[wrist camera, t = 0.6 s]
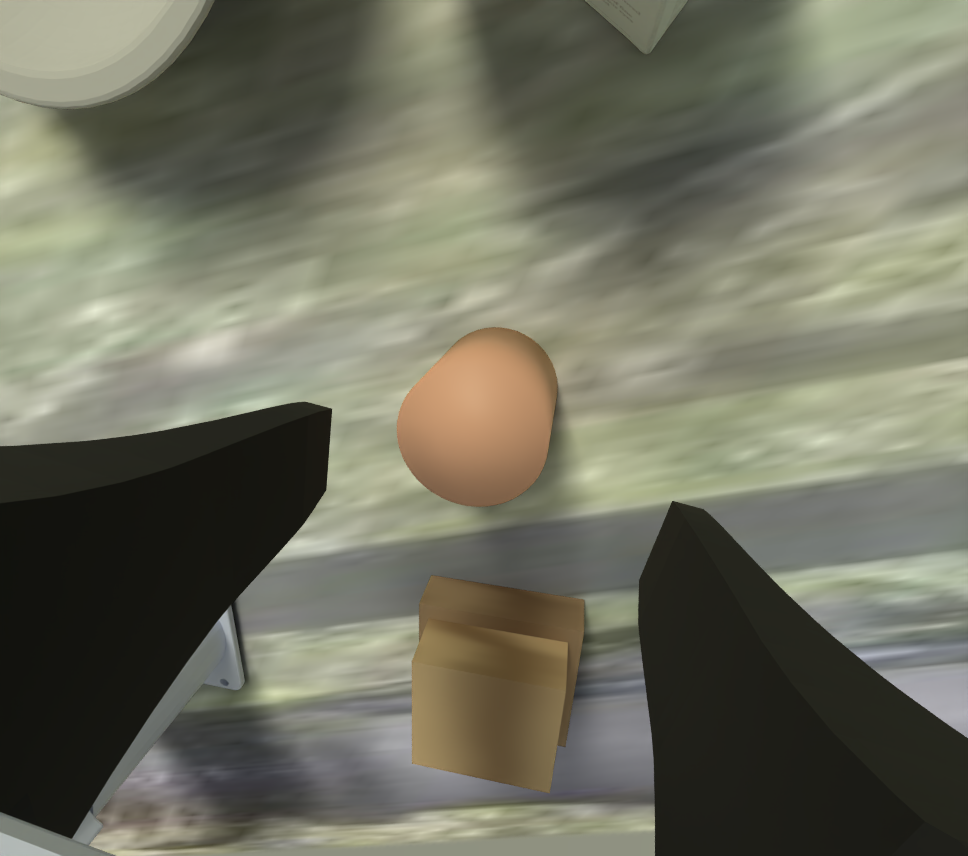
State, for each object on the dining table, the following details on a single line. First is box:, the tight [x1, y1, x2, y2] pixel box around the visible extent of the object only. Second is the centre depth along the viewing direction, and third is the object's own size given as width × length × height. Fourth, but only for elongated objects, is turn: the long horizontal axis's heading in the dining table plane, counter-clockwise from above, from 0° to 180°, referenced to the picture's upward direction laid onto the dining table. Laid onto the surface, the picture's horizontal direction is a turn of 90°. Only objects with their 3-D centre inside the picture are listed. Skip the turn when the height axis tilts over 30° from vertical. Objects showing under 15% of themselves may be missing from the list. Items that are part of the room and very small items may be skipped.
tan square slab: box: [419, 575, 584, 747], centre depth 24 cm, size 7×7×2 cm
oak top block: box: [412, 618, 568, 793], centre depth 22 cm, size 6×6×2 cm
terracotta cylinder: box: [397, 327, 558, 507], centre depth 18 cm, size 5×5×5 cm
